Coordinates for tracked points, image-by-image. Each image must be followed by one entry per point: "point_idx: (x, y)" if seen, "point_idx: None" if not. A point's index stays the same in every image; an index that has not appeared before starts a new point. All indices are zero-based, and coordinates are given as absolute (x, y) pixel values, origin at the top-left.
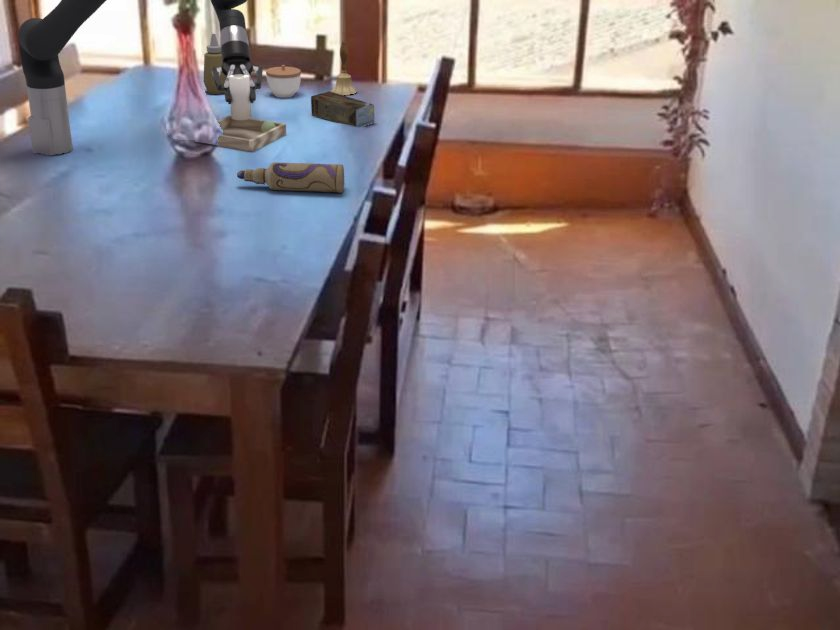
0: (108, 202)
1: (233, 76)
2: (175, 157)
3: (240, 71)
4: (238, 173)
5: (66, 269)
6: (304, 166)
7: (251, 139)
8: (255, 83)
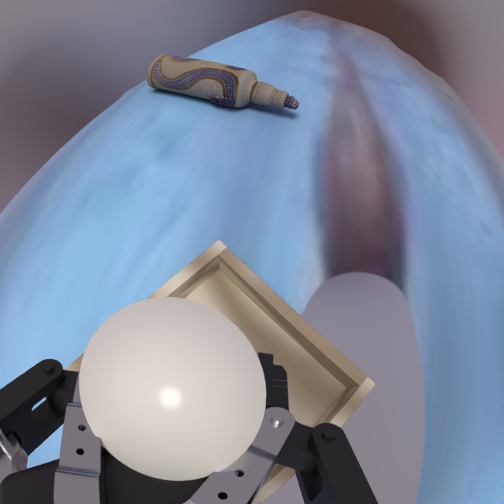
0: (446, 144)
1: (214, 421)
2: (405, 289)
3: (117, 494)
4: (297, 101)
5: (423, 74)
6: (204, 60)
7: (216, 254)
8: (68, 386)
